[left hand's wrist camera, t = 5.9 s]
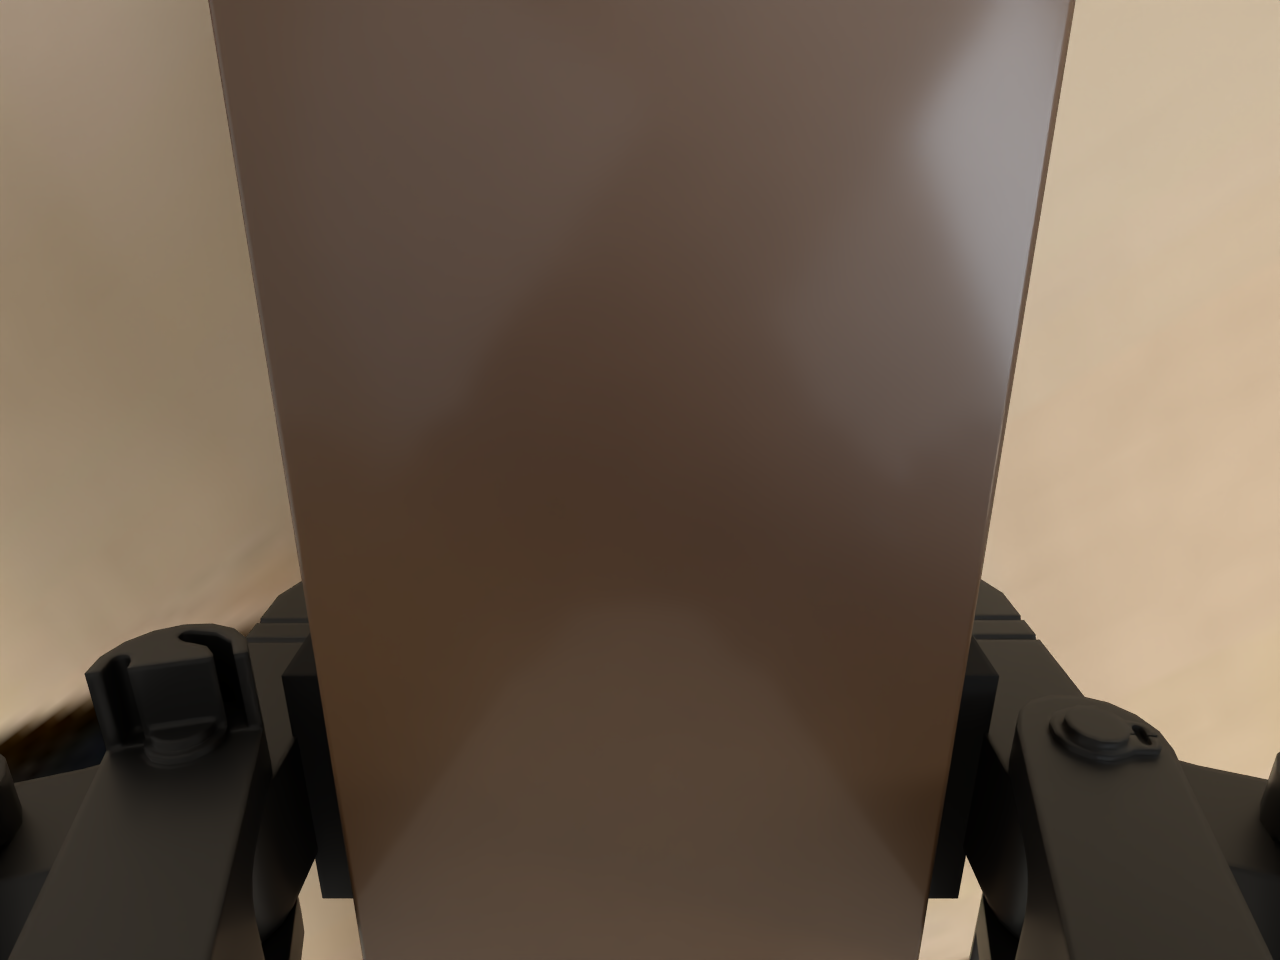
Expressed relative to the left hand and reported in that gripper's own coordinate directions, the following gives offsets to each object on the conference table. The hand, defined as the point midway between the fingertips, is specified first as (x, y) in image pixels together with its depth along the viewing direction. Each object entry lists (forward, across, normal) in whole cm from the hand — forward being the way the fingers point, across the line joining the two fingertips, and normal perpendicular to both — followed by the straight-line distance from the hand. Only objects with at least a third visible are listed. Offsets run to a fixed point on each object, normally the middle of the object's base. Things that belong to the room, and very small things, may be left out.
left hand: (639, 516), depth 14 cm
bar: (0, 0, -29) cm, 29 cm away
